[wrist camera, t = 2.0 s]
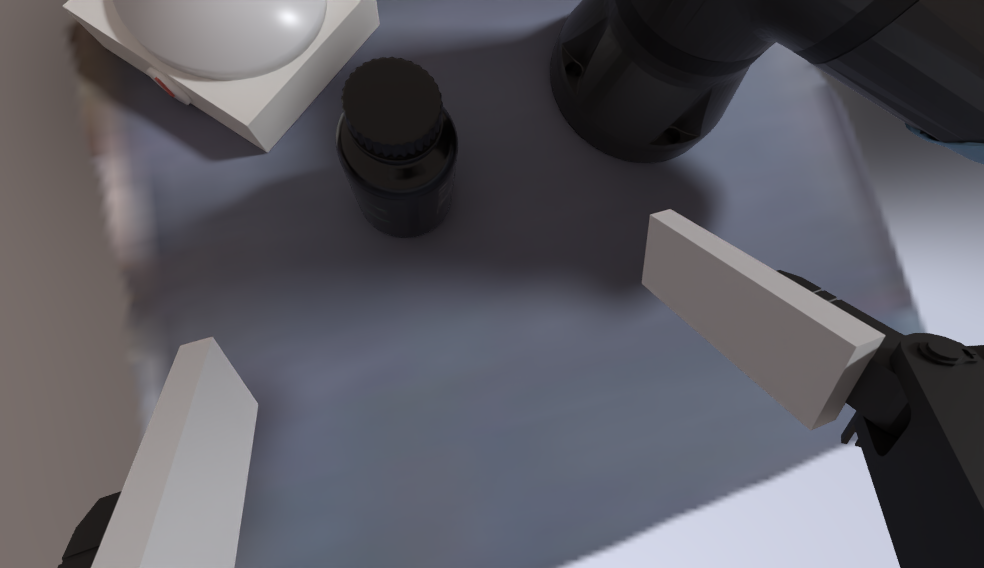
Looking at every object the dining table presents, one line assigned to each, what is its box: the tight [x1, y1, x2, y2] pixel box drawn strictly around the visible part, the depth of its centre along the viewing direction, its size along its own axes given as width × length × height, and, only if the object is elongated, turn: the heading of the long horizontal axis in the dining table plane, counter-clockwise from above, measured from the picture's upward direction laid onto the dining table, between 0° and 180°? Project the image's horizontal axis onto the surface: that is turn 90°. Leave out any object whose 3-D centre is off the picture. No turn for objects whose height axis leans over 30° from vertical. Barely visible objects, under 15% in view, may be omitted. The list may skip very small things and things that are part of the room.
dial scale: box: [63, 0, 380, 153], centre depth 30 cm, size 15×14×5 cm
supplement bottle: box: [336, 57, 458, 238], centre depth 26 cm, size 7×7×12 cm
